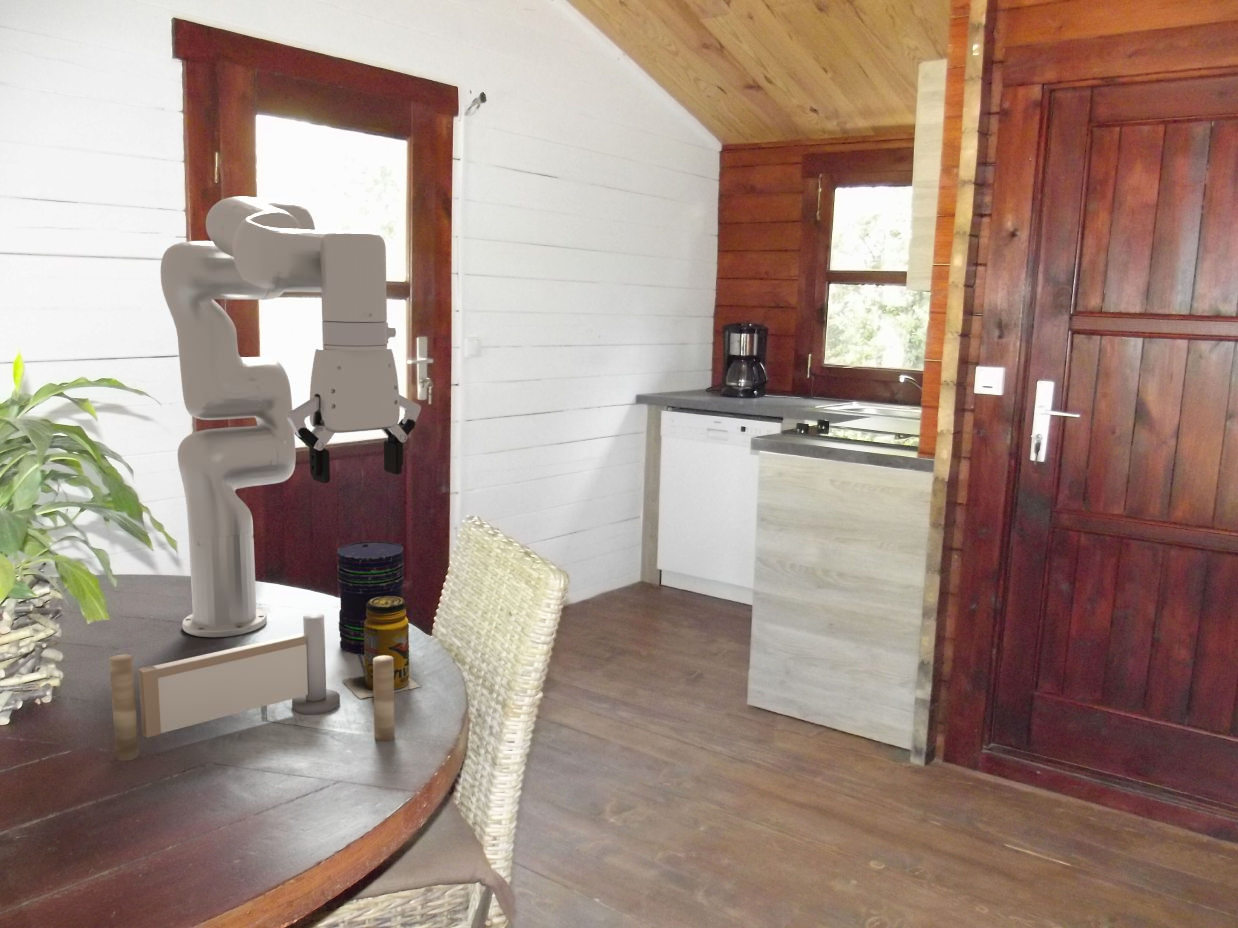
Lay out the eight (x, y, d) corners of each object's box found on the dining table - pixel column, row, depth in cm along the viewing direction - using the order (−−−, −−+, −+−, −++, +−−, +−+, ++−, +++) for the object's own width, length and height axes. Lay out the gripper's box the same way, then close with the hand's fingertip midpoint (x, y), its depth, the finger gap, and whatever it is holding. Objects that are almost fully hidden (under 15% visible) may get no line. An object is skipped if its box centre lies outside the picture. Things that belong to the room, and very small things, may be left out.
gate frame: (108, 750, 121) (101, 652, 119) (329, 691, 139) (326, 606, 137) (162, 810, 107) (155, 702, 105) (398, 737, 126) (396, 643, 124)
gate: (320, 691, 136) (318, 611, 135) (329, 697, 135) (327, 617, 133) (141, 738, 121) (135, 650, 119) (148, 746, 120) (143, 656, 118)
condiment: (419, 687, 142) (418, 603, 139) (360, 700, 137) (358, 613, 135) (399, 670, 148) (398, 589, 145) (342, 681, 143) (339, 598, 141)
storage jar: (413, 649, 156) (412, 553, 153) (349, 659, 151) (346, 561, 148) (393, 629, 164) (392, 538, 162) (331, 638, 160) (329, 545, 157)
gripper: (402, 334, 132) (404, 465, 135) (272, 336, 120) (277, 480, 123) (434, 337, 126) (435, 474, 129) (300, 340, 115) (305, 490, 118)
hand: (358, 476), depth 126 cm, fingers open, 9 cm apart
